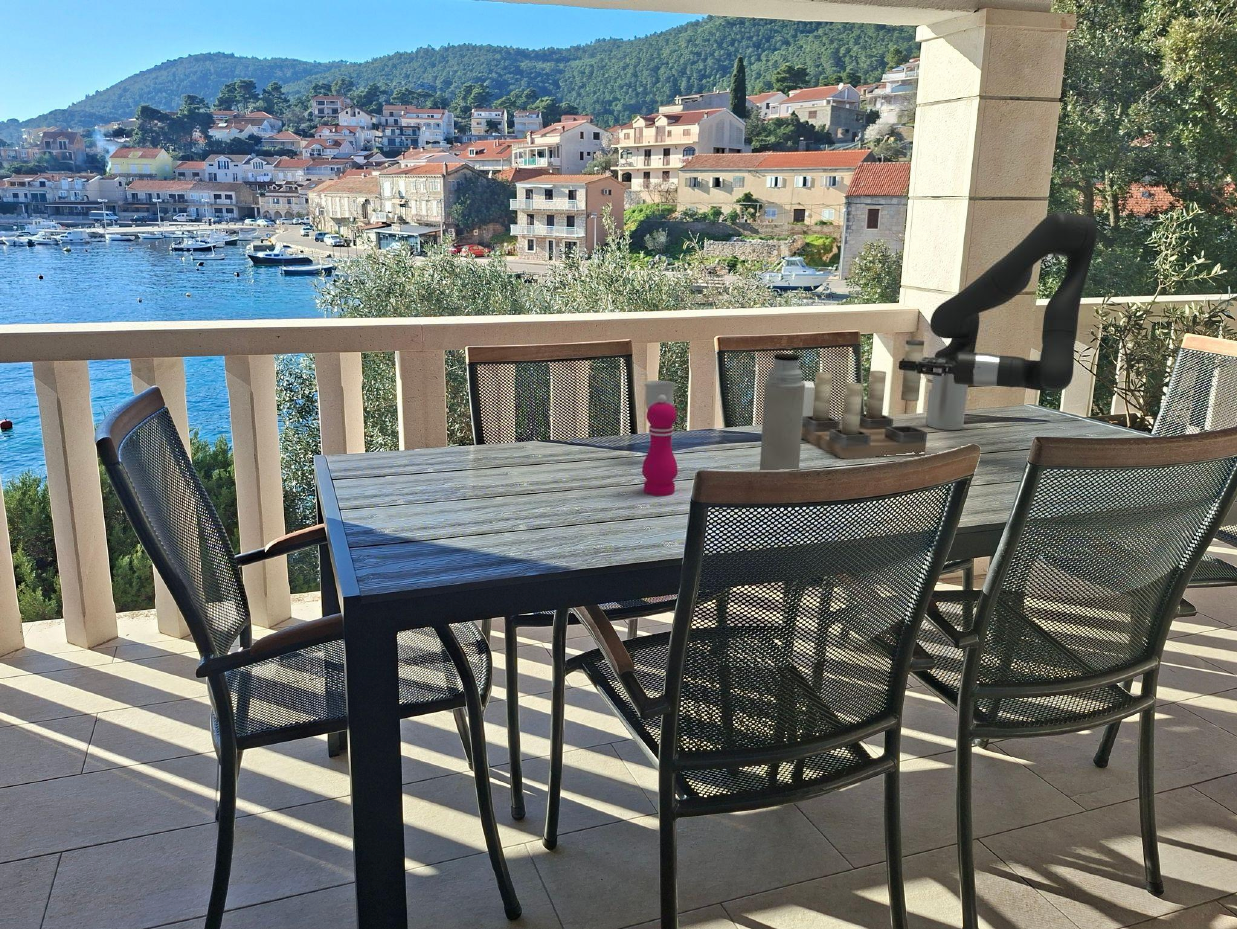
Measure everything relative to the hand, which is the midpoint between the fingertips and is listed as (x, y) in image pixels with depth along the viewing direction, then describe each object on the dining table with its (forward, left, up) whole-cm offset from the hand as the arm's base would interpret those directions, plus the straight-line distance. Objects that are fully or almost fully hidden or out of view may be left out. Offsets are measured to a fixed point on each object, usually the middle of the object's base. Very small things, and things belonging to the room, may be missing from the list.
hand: (900, 363), depth 225 cm
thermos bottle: (+24, -41, -21) cm, 52 cm away
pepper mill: (+21, -66, -21) cm, 73 cm away
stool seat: (-6, -5, -21) cm, 23 cm away
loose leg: (+2, +2, -8) cm, 9 cm away
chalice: (-2, -59, -21) cm, 63 cm away
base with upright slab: (-26, -11, -21) cm, 35 cm away
